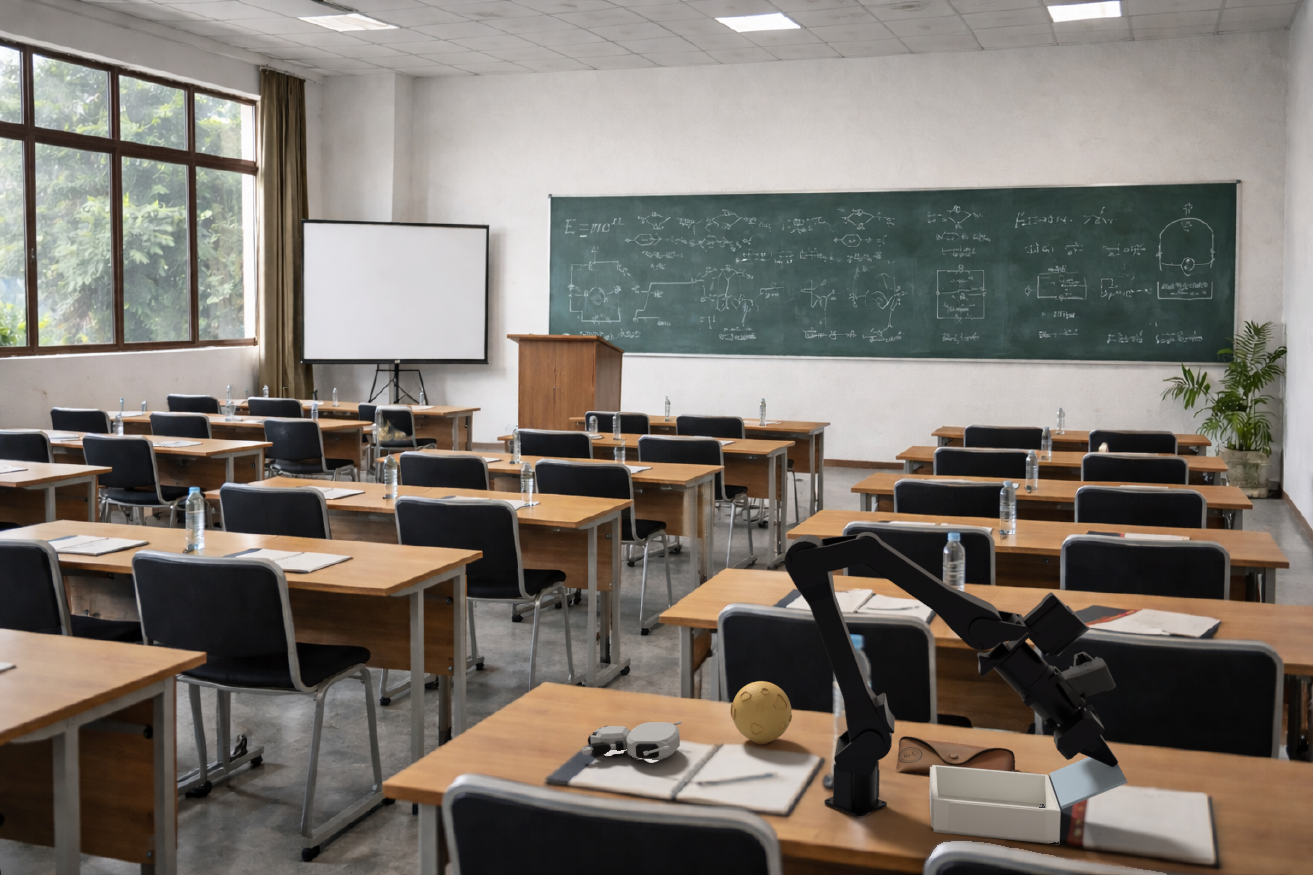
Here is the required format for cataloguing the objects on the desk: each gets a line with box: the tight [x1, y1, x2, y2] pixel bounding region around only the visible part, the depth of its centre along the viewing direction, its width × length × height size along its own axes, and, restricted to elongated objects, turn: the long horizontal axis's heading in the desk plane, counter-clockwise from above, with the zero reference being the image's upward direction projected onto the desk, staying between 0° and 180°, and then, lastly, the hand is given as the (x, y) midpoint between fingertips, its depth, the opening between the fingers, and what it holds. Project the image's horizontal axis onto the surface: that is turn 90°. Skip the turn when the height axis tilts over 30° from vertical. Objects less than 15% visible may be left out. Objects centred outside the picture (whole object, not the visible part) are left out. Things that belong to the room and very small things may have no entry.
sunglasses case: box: [895, 735, 1016, 777], centre depth 170 cm, size 18×7×7 cm, turn 72°
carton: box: [928, 765, 1061, 844], centre depth 152 cm, size 16×14×4 cm
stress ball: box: [730, 680, 793, 745], centre depth 182 cm, size 10×10×10 cm
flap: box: [1048, 756, 1129, 810], centre depth 149 cm, size 1×12×9 cm
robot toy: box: [581, 721, 683, 761], centre depth 176 cm, size 12×4×15 cm
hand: (1115, 763), depth 148 cm, fingers closed, pressing on flap
